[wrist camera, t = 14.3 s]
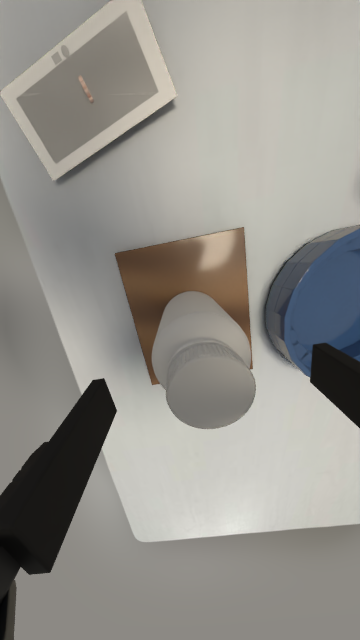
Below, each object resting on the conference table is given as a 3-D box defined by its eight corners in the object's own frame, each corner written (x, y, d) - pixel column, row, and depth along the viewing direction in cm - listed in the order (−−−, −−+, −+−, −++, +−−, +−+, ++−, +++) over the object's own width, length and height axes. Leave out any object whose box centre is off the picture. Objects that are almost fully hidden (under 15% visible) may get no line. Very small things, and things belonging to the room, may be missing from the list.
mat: (116, 253, 22) (114, 253, 22) (242, 228, 21) (244, 227, 21) (152, 382, 28) (152, 385, 28) (251, 366, 28) (252, 368, 27)
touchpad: (177, 105, 18) (177, 85, 16) (60, 185, 20) (46, 176, 18) (137, 0, 15) (130, -41, 13) (9, 102, 18) (-14, 81, 15)
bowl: (261, 244, 22) (284, 239, 17) (424, 212, 21) (496, 197, 16) (266, 373, 28) (284, 396, 23) (392, 353, 27) (438, 372, 22)
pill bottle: (228, 297, 23) (305, 354, 9) (209, 349, 26) (247, 457, 12) (170, 282, 23) (158, 316, 8) (157, 336, 25) (129, 434, 11)
